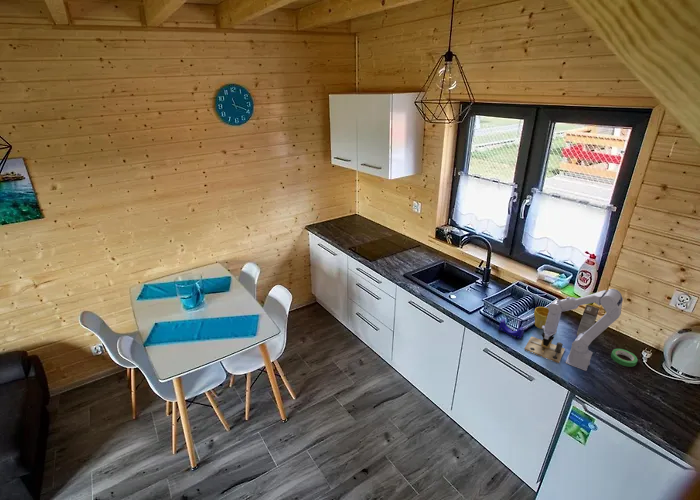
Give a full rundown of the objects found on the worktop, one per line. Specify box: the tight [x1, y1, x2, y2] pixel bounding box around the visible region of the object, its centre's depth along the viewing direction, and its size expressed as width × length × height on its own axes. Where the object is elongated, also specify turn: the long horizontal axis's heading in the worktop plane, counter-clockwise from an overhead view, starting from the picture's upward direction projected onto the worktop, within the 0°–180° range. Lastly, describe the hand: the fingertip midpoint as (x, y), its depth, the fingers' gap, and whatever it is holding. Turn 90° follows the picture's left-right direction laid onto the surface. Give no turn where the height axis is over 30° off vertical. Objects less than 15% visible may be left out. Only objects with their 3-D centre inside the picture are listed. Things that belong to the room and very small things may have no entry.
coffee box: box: [576, 304, 600, 337], centre depth 219 cm, size 9×6×16 cm
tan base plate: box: [523, 336, 566, 364], centre depth 208 cm, size 17×13×6 cm
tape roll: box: [610, 348, 638, 368], centre depth 203 cm, size 11×11×3 cm
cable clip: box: [498, 318, 525, 339], centre depth 222 cm, size 12×4×6 cm, turn 46°
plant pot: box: [533, 306, 549, 330], centre depth 227 cm, size 10×10×10 cm
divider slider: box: [541, 339, 553, 352], centre depth 207 cm, size 4×8×6 cm, turn 142°
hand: (546, 343), depth 209 cm, fingers closed on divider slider, 3 cm apart
